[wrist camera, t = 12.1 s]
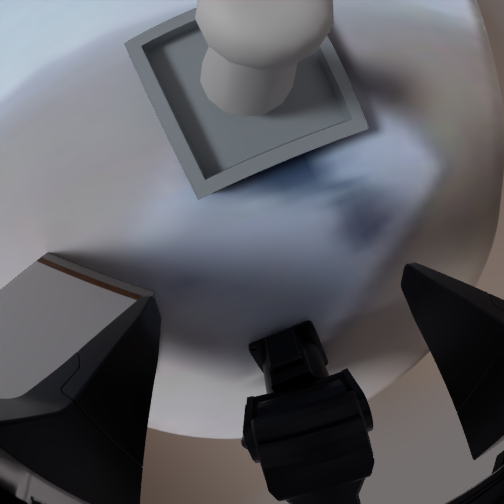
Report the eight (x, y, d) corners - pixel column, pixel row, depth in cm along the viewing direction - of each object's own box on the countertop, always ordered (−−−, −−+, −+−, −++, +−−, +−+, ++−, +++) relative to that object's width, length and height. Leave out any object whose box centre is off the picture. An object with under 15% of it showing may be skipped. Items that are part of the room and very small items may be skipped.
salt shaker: (192, 63, 16) (142, -36, 4) (267, 36, 16) (313, -74, 4) (223, 132, 19) (208, 109, 6) (298, 104, 18) (395, 57, 6)
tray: (355, 129, 20) (369, 128, 18) (201, 193, 21) (198, 199, 19) (287, -6, 15) (293, -20, 13) (134, 52, 16) (124, 43, 14)
